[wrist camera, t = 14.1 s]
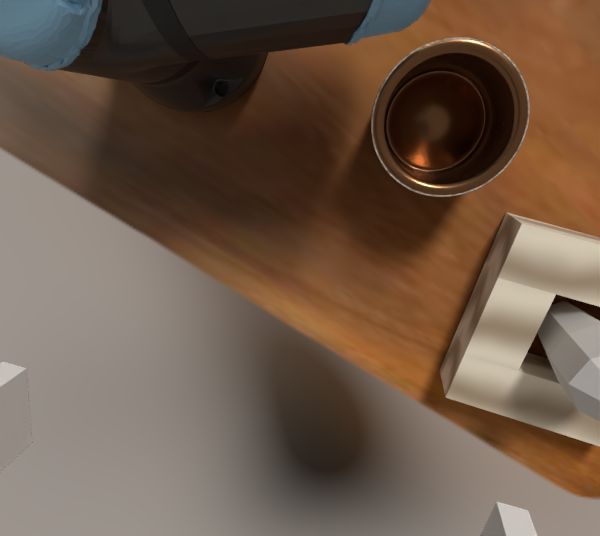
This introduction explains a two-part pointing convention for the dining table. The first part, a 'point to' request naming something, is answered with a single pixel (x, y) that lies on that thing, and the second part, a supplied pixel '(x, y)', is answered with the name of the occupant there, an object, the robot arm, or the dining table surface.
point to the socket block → (522, 326)
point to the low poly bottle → (574, 354)
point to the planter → (450, 117)
